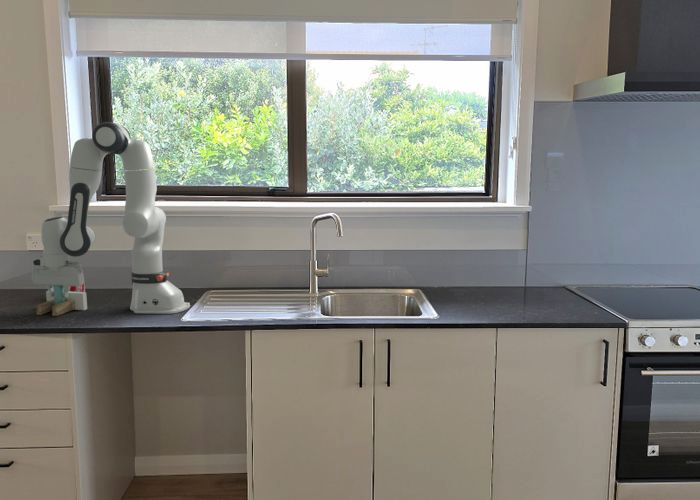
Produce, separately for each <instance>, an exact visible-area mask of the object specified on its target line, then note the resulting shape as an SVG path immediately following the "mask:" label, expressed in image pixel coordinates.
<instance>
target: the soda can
mask: <svg viewBox="0 0 700 500" xmlns="http://www.w3.org/2000/svg"><path fill="white" fill-rule="evenodd" d="M83 275H84V272H83ZM84 276H85V275H84ZM69 291H71V292H86V285H85V283H84V284H83V285H81V286H71V288H70V290H69Z"/></svg>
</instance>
